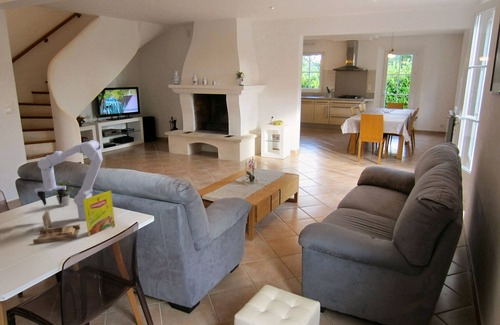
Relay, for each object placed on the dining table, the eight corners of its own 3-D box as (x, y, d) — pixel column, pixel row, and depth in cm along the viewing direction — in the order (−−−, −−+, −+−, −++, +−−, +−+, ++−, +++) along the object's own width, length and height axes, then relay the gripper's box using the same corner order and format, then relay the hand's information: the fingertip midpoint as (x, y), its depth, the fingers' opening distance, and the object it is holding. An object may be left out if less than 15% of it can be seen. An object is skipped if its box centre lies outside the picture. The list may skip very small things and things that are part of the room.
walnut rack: (80, 229, 180) (79, 224, 179) (76, 240, 169) (75, 234, 168) (41, 234, 175) (39, 229, 174) (34, 246, 164) (33, 240, 163)
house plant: (64, 211, 204) (60, 184, 200) (44, 209, 207) (40, 183, 203) (81, 202, 217) (78, 177, 213) (62, 200, 220) (58, 175, 216)
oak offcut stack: (75, 230, 177) (74, 225, 177) (72, 237, 170) (71, 232, 169) (63, 231, 176) (63, 227, 175) (60, 238, 168) (59, 234, 168)
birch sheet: (51, 225, 185) (49, 210, 182) (48, 230, 178) (45, 216, 176) (48, 225, 184) (45, 211, 182) (44, 231, 178) (42, 216, 176)
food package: (89, 238, 171) (83, 199, 165) (88, 238, 171) (82, 199, 166) (115, 226, 183) (111, 190, 178) (114, 226, 184) (109, 189, 179)
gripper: (31, 183, 181) (35, 208, 184) (62, 180, 185) (66, 204, 188) (35, 179, 187) (39, 203, 191) (65, 176, 191) (68, 200, 195)
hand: (53, 203), depth 190 cm, fingers open, 7 cm apart
